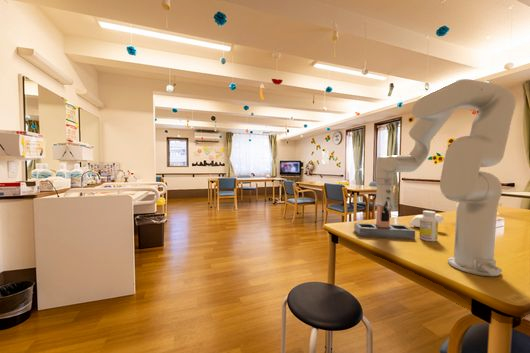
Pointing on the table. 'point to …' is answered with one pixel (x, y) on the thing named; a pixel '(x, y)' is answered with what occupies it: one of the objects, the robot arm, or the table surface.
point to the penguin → (416, 219)
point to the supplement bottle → (429, 226)
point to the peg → (378, 220)
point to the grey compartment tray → (384, 231)
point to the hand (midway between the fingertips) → (382, 219)
